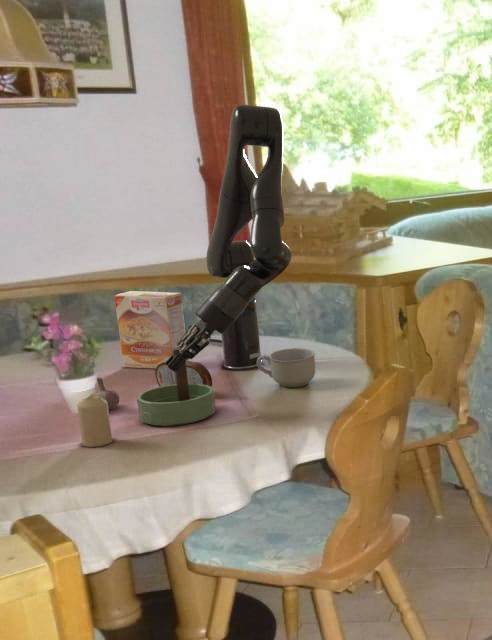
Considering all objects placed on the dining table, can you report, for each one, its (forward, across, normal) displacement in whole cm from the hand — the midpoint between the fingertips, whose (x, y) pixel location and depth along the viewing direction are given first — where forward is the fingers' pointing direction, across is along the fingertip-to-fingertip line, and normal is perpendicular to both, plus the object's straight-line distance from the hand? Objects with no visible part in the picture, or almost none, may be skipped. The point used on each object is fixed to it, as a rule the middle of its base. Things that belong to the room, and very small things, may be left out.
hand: (170, 367), depth 226 cm
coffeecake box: (+7, -51, +10) cm, 53 cm away
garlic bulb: (+18, -14, -1) cm, 23 cm away
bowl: (+8, 0, +8) cm, 12 cm away
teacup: (-11, -15, +28) cm, 34 cm away
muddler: (+6, 0, +8) cm, 10 cm away
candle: (+20, +10, -3) cm, 23 cm away
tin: (+5, -18, +11) cm, 22 cm away
